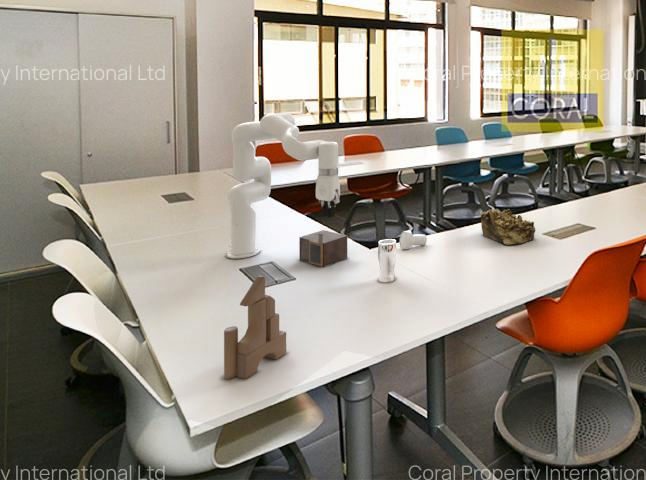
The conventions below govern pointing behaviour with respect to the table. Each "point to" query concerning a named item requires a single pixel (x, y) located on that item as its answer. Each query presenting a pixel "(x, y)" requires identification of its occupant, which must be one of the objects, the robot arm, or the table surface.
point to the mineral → (506, 227)
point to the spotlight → (411, 239)
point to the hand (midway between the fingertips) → (328, 216)
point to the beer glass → (387, 259)
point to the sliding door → (316, 251)
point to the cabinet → (325, 247)
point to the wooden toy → (254, 335)
